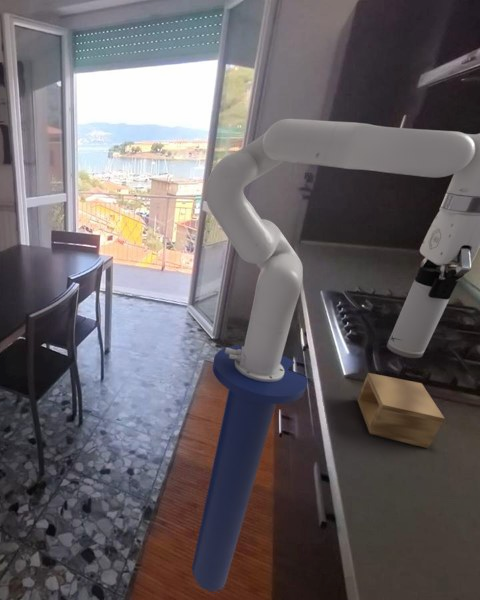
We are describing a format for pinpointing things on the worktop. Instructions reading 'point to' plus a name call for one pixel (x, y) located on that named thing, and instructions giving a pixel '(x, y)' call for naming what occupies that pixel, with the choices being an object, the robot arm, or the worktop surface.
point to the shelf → (399, 410)
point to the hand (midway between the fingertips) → (430, 290)
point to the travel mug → (417, 317)
